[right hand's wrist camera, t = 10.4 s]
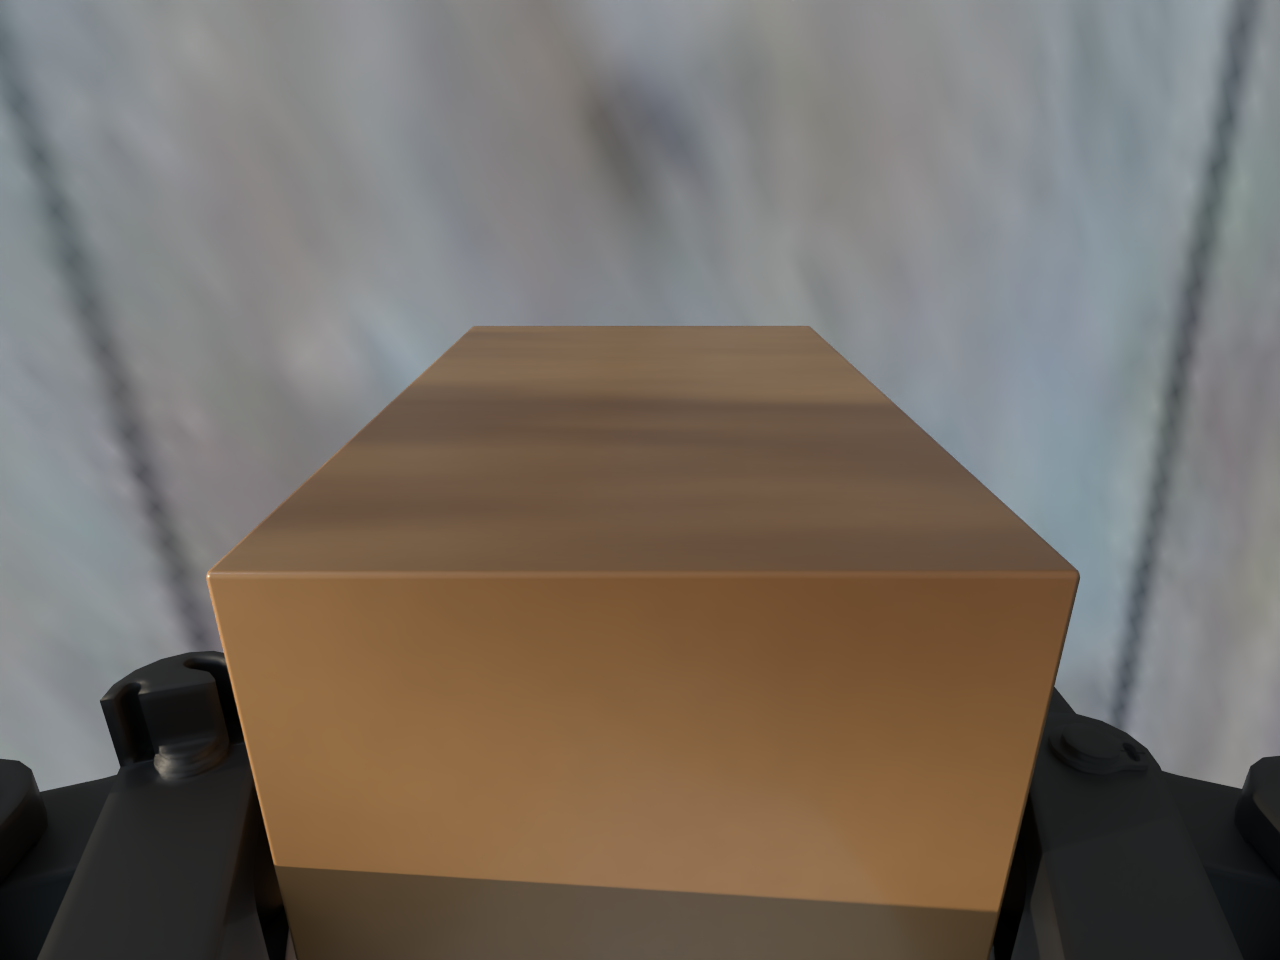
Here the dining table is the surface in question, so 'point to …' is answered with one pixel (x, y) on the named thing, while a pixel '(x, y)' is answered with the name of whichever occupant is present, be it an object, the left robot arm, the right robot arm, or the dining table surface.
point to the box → (642, 662)
